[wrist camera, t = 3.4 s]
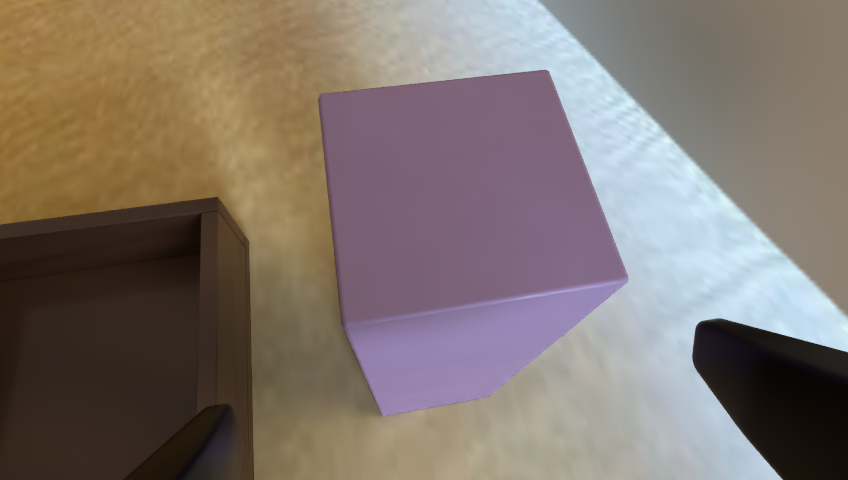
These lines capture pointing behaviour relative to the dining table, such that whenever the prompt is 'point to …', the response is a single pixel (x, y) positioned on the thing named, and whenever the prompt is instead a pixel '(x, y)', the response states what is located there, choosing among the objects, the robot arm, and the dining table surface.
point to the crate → (120, 336)
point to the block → (460, 233)
